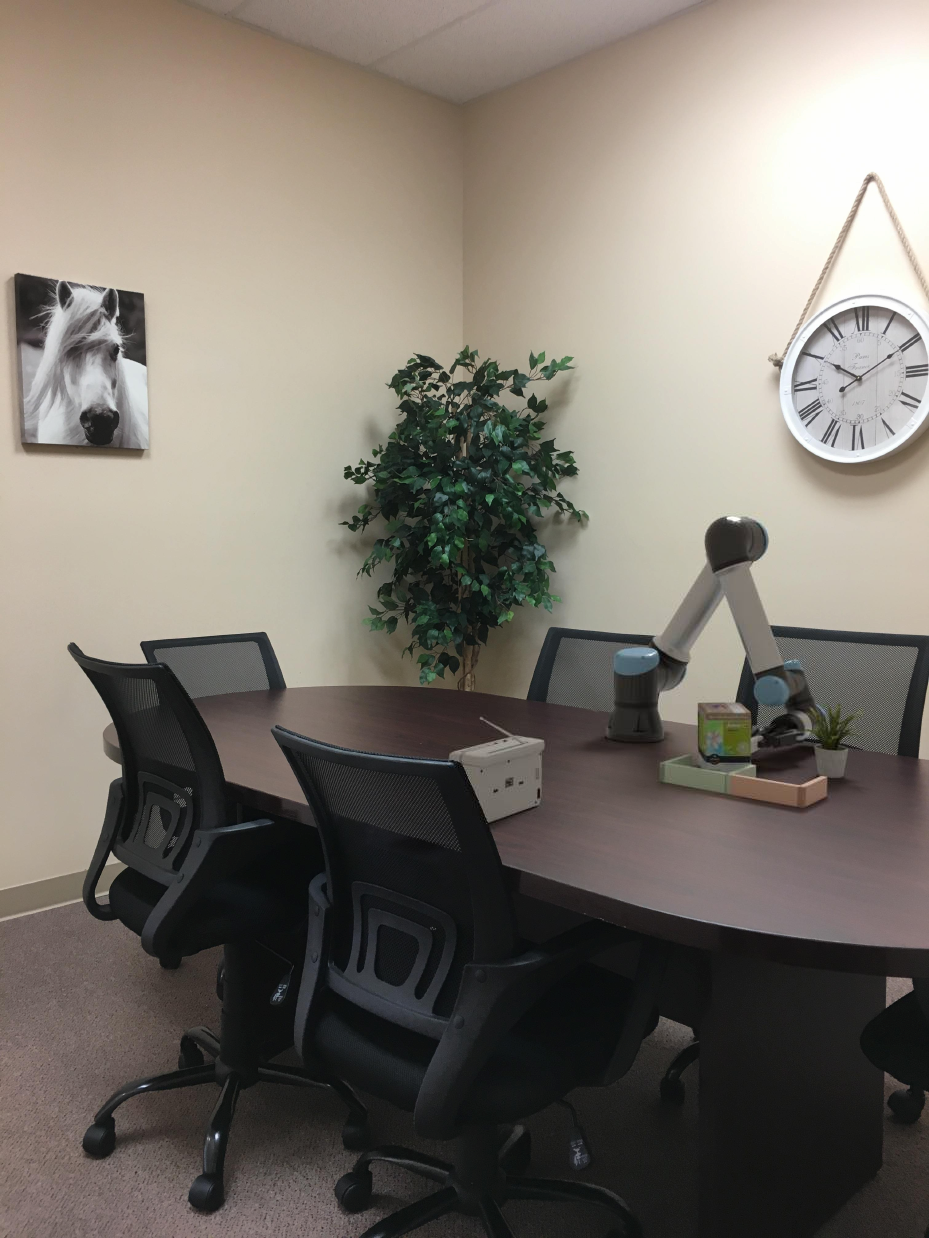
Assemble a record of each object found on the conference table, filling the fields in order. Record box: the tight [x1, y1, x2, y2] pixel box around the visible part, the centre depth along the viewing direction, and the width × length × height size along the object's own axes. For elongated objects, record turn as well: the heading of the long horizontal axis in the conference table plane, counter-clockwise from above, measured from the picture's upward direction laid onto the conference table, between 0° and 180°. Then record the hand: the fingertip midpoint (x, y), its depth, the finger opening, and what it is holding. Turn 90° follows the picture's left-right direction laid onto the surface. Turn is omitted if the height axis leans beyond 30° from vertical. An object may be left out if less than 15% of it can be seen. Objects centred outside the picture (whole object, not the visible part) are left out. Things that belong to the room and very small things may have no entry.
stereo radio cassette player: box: [448, 716, 546, 824], centre depth 180 cm, size 21×8×20 cm, turn 141°
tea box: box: [697, 701, 752, 773], centre depth 213 cm, size 15×10×15 cm
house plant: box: [804, 702, 865, 779], centre depth 209 cm, size 14×14×16 cm
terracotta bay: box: [729, 774, 828, 809], centre depth 193 cm, size 15×12×4 cm
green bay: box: [659, 753, 757, 795], centre depth 204 cm, size 16×12×4 cm
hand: (748, 746), depth 214 cm, fingers closed
